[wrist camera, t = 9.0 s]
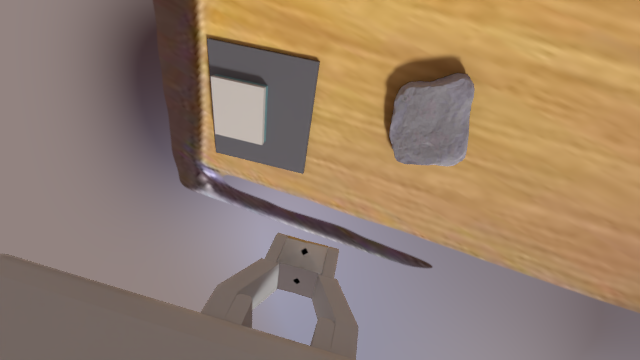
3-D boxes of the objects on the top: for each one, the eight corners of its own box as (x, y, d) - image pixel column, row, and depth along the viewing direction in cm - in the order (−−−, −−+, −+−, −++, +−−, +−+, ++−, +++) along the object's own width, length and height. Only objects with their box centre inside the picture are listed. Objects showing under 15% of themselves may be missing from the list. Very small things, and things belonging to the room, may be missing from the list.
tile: (267, 85, 38) (216, 74, 38) (263, 88, 36) (210, 76, 37) (265, 141, 43) (220, 130, 43) (261, 145, 41) (215, 133, 42)
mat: (209, 38, 36) (207, 38, 36) (319, 61, 35) (318, 62, 35) (217, 150, 47) (216, 152, 46) (303, 171, 45) (302, 173, 45)
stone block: (394, 154, 42) (464, 156, 38) (389, 168, 38) (466, 171, 34) (392, 78, 37) (474, 69, 32) (385, 85, 33) (476, 76, 29)
